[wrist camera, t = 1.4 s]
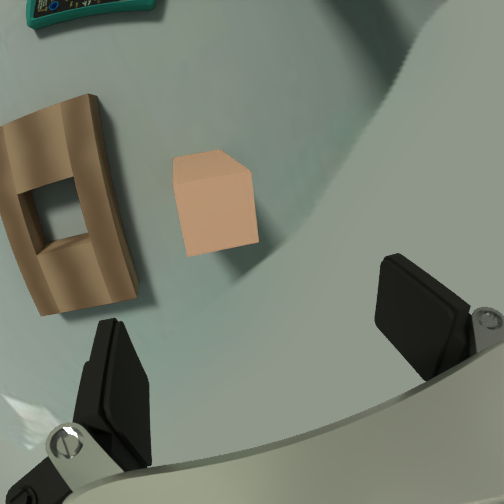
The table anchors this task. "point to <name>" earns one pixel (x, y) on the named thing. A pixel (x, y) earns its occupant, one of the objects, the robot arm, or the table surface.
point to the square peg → (214, 202)
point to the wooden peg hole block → (91, 200)
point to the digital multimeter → (77, 9)
